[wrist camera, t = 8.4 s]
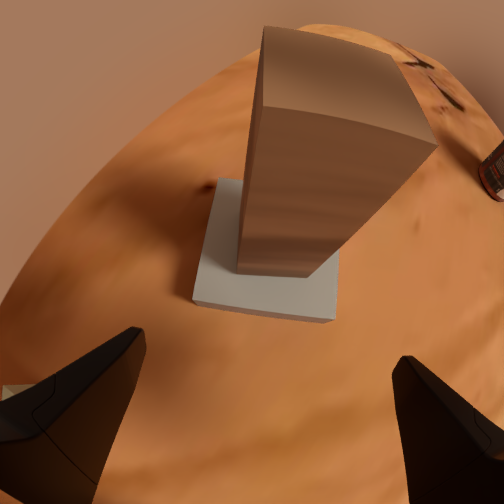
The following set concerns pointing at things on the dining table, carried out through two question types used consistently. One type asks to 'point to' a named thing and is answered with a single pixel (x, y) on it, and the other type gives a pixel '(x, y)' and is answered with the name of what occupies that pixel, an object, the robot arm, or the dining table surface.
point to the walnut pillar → (322, 149)
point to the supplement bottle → (494, 173)
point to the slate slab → (250, 286)
